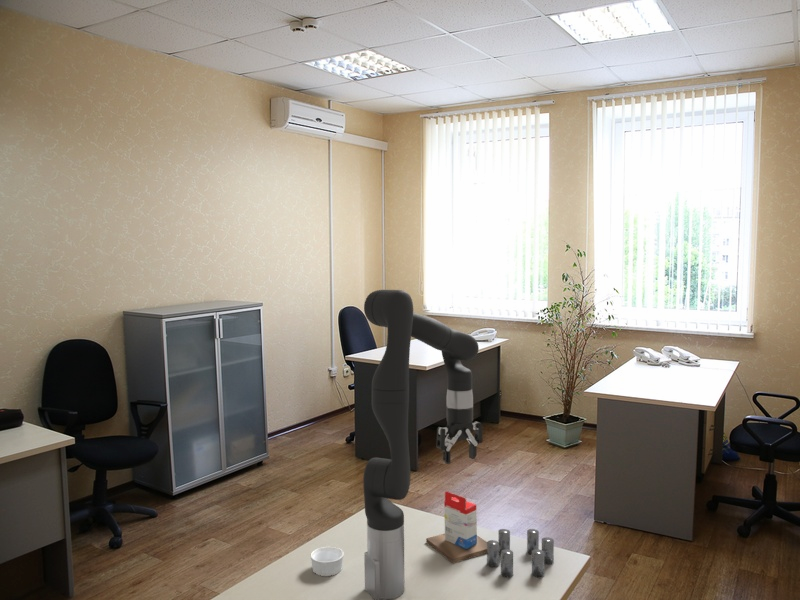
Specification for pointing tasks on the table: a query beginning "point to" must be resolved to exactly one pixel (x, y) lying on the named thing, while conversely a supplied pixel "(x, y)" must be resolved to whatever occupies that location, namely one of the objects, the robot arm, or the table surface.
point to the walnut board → (456, 548)
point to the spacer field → (532, 548)
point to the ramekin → (327, 561)
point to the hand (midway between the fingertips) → (459, 460)
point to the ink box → (460, 521)
